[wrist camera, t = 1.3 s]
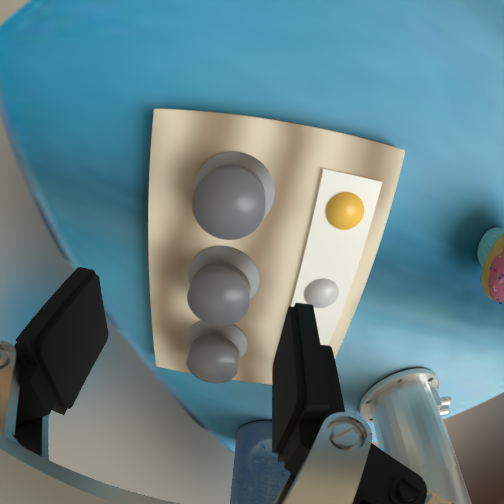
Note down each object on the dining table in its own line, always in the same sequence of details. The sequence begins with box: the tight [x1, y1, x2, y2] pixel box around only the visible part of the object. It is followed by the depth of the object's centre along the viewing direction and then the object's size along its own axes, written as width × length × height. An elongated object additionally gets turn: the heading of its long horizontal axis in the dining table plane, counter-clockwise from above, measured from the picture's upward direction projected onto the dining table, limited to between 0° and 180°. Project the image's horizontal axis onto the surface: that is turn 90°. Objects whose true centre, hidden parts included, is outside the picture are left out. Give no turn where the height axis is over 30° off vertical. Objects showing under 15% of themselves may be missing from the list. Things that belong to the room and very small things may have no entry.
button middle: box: [187, 262, 250, 326], centre depth 25 cm, size 5×5×2 cm
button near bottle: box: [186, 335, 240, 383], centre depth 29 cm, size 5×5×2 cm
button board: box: [148, 108, 405, 385], centre depth 28 cm, size 20×28×2 cm
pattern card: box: [291, 168, 382, 345], centre depth 28 cm, size 5×22×1 cm, turn 172°
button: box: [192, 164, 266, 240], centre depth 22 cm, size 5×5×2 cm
